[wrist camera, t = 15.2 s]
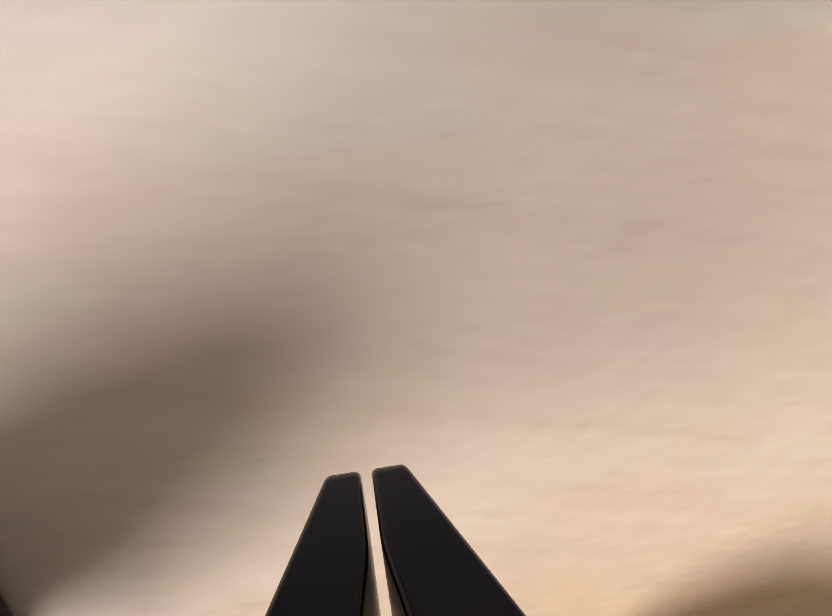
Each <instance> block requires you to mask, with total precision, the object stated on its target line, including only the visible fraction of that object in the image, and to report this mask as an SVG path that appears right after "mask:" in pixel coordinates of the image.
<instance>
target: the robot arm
mask: <svg viewBox="0 0 832 616" xmlns="http://www.w3.org/2000/svg"><path fill="white" fill-rule="evenodd" d="M372 479H373V486H374V494H375V501H376V508H377V516H378V523H379V531H380V538H381V545H382V551H383V558H384V565H385V571H386V578H387V585H388V591H389V598H390V605H391V612H392V616H526V615H525V614H524V613H523V611H522V610H521V609H520V608H519V606H518V605H517V604H516V603H515V601H514V600H513V599H512V598H511V596H510V595H509V594H508V593H507V591H506V590H505V589H504V588H503V586H502V585H501V584H500V583H499V581H498V580H497V579H496V578H495V576H494V575H493V574H492V573H491V571H490V570H489V569H488V568H487V566H486V565H485V564H484V563H483V561H482V560H481V559H480V558H479V556H478V555H477V554H476V553H475V551H474V550H473V549H472V548H471V546H470V545H469V544H468V543H467V541H466V540H465V539H464V538H463V536H462V535H461V534H460V533H459V531H458V530H457V529H456V528H455V526H454V525H453V524H452V523H451V521H450V520H449V519H448V518H447V516H446V515H445V514H444V513H443V511H442V510H441V509H440V508H439V506H438V505H437V504H436V503H435V501H434V500H433V499H432V498H431V496H430V495H429V494H428V493H427V491H426V490H425V489H424V488H423V486H422V485H421V484H420V483H419V481H418V480H417V479H416V478H415V476H414V475H413V474H412V473H411V471H410V470H409V469H408V468H407V467H406V466H404V465H395V466H389V467H382V468H377V469H375V470H374V471H373V473H372ZM0 616H11V615H10V613H9V611H8V610H7V608H6V606H5V604H4V603H3V601H2V599H1V597H0ZM265 616H381V614H380V607H379V599H378V591H377V584H376V576H375V569H374V561H373V554H372V546H371V538H370V531H369V524H368V517H367V511H366V505H365V499H364V492H363V486H362V480H361V476H360V474H359V473H357V472H351V473H345V474H339V475H332V476H329V477H328V478H326V480H325V481H324V483H323V486H322V488H321V490H320V492H319V495H318V497H317V499H316V501H315V504H314V506H313V508H312V510H311V513H310V515H309V517H308V520H307V522H306V524H305V526H304V529H303V531H302V533H301V535H300V538H299V540H298V542H297V545H296V547H295V549H294V551H293V554H292V556H291V558H290V560H289V563H288V565H287V567H286V569H285V572H284V574H283V576H282V579H281V581H280V583H279V585H278V588H277V590H276V592H275V594H274V597H273V599H272V601H271V603H270V606H269V608H268V610H267V613H266V615H265Z"/></svg>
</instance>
